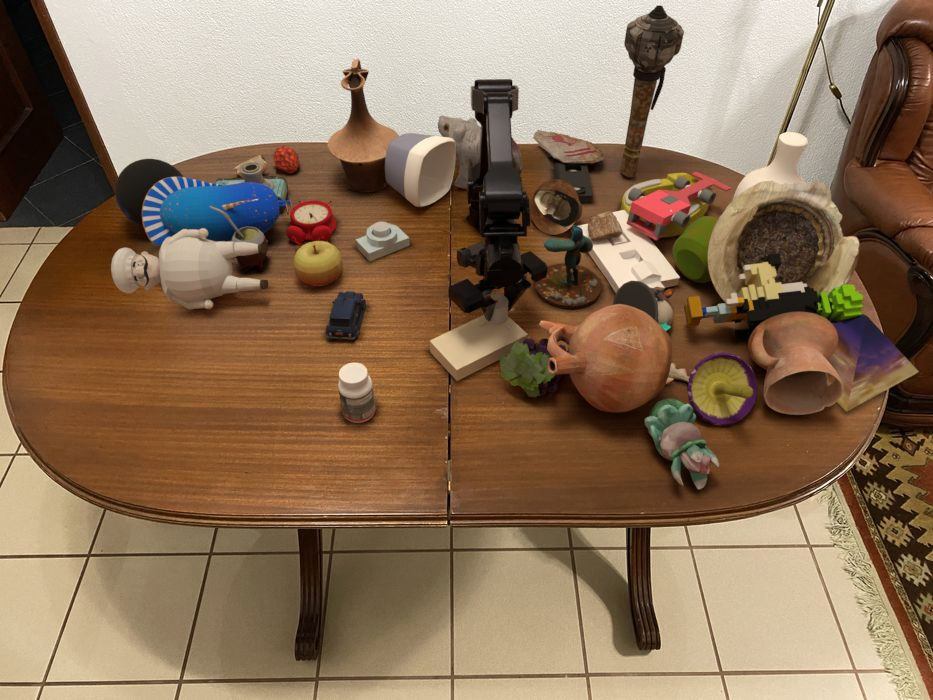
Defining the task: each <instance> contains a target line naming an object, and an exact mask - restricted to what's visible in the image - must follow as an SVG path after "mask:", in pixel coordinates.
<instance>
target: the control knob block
mask: <svg viewBox="0 0 933 700" xmlns="http://www.w3.org/2000/svg"><path fill="white" fill-rule="evenodd" d="M388 224H389V226H390V234H389V236H386V237H381V238H379V237H375V236H374V234H373V225H374V224H371V225H370V226H369V227H367V229H366V234H365V235H363V236H361V237H358V238H355V239H354V240H355V248H356V249H357V250H358V251H359V252H360V253H361V254H362V255H363V256H364V257H365V258H366V259H367V260H368V261H369V262H372V261H375V260H377V259H380V258H382V257H385V256H387V255H389V254H393V253H395V252H397V251H399V250H403V249H405V248H407V247H410V245H411V243H410V236H408V234H406V233H405V232H404V231H403V230H402V229H401V228H400V227H399V226H397V224H395V223H394V224H392V223H388Z"/></svg>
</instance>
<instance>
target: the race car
mask: <svg viewBox="0 0 933 700" xmlns="http://www.w3.org/2000/svg"><path fill="white" fill-rule="evenodd" d="M690 175H691V176H693V177H694V178H696V179H698V180H699V182H697V183H694V184H692V185H690V180H687V179H685V178H683V177H681V176H679V177H678V178H677V179H676V180H675V183H674V188H676V189H678V190H679V191H669V190H658V191H655V192H653V193H651V194H649V195H647V196H645V193H644V192H643V191H641V190H639V189H637V188H633V189H632V190H631V191H630V192H629V195H628V199H629V200H631V201H633V202H632V205H631V209H630V212H629V216H628V221H627V223H626V224H628V225H630V226H631V227H633V228H635V229H637V230H638V231H640V232H642V233H644V234H646V235H647V236H648V237H649V238H650V239H653V240H654V241H658V240H660V239H661V238H663V237H662V236H663V235H665V234H666V230H667V227H668V224H669V223H671V222H673V223H675V224H677V225H679V226H680V227H682V228H684V227H685V226H686V225H687V224H688V223H689V221H690V215H688V213H689V210H690V207H691V205H690V202H693V201H695V200H697V199H699V200H701V201H703V202H705V203H706V204H708V205H709V206H710V205H711V204H713V203H714V201H715V199H716V196H717V193H716V192H714V191H713V192H712V191H710V190H709V188H712V187H715V188H717V189H720V190H721V191H723V192H729V191H730V190H732V187H731V186H729V185H727V184H724V183H722V182H720V181H718V180H716V179H714V178H712V177H710V176H708V175H705V174H703V173H701V172H699V171H697V170H696V171H693V172H692V173H690ZM640 217H642V218H643V219H645V222H644V221H642V220H640ZM652 224H655V225H656V228H655V227H653V226H651V225H652Z"/></svg>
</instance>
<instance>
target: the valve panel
mask: <svg viewBox="0 0 933 700" xmlns="http://www.w3.org/2000/svg"><path fill="white" fill-rule="evenodd" d="M515 309H516V308H513V307H512V308H511V310H510V311H509V312H508V313H511V312H513V311H515ZM525 338H529V334H528V333H527V332H526V331H525V330H524V329H523V328H521V327H520V325H518V324H517V323H516V322H515V321H514V320H513V319H512V318H511V317H510V316H509V315H508V318H507V320H506V322H504V323H502V324H493V323H490V322H489V321H487V320H486V319H485V317H484V314H483V315H481V316H479V317H476V318H475V319H472V320H470V321H468V322H466V323H463V324H462V325H460V326H457V327H456V328H453V329H451V330H449V331H447V332H445V333H442V334H440V335H439V336H436V337H434V338H432V339H430V340H429V352H430V354H431V355H432V357H434V358H435V359H436V360H437V361H438V362H439V363H440V365H441V366H442V367H443V368H444V369H445V370H446V371H447V372H448V373H449V375H451V377H452V378H453V379H454V381H456V382H459V381H460V380H462V379H464V378H466V377H468V376H470V375H472V374H474V373H476V372H478V371H480V370H482V369H484V368H486V367H488V366H490V365H491V364H494V363H495V362H498V361H500V359H499V356H502V357H507V353H509V354H511V348H512V349H513V347H512V346H513V345H514V343H515V341H516V340H517V341H518V342H519V343H520V344H521V343H522V342H523V340H524V339H525Z"/></svg>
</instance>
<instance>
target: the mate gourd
mask: <svg viewBox="0 0 933 700" xmlns="http://www.w3.org/2000/svg"><path fill="white" fill-rule="evenodd" d="M210 208H212V209H214V210H216V211H218V212H220V213H221V214H223V216H224V217H225V218H226V219H227V220H228V221H229V222H230V224H231V225H232V226H233V227H234V229H235V230H236V232H235V233H234V235H233V237H232V240H231V242H247V243H254V244H266V247H267V251H266V253H256V254H252V255H245V256H236V257H235V258H236V260H237V262H238V264H239V265H240V267H241V268H240V270H241V272H243V273H245V272H247V271H248V270H250V269H252V268H256V269H257V270H258V271H260V272H262V273H263V272H264V271H265V267H264V266H263V262H265V261H267V260H268V256H267V253H268V248H269V247H268V246H269V245H268V242H267V241H266V240H267V238H266V236H265V234H264V233H262V232H261V231H260V230H258V229H257V228H255V227H243V228H240V229H237V227H236V226H235V225H234V223H233V222H232V220H231V219H230V218H229V216H228V214H227V213H225V212H223V211H222V210H220V209H217V208H215V207H212V206H210Z"/></svg>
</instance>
